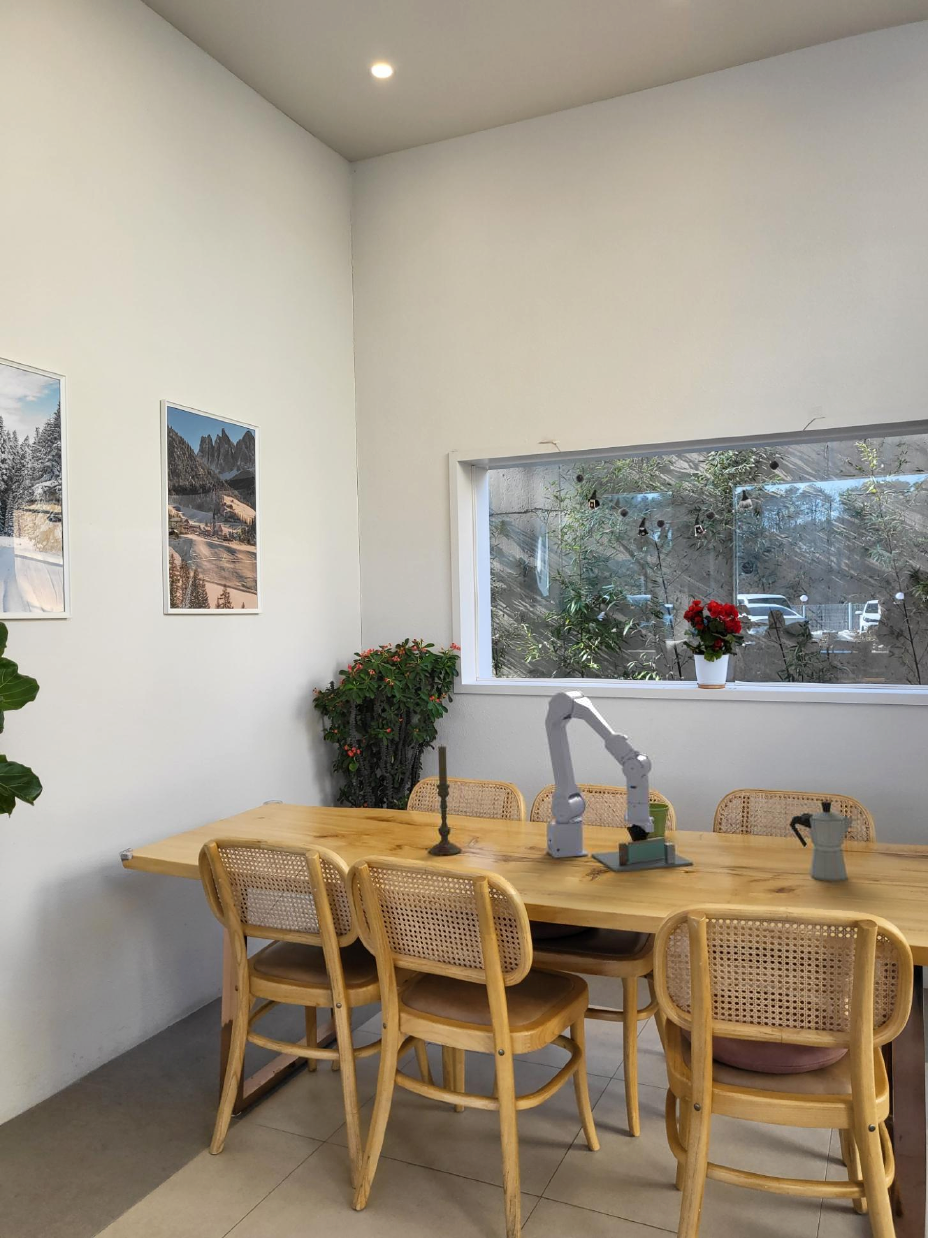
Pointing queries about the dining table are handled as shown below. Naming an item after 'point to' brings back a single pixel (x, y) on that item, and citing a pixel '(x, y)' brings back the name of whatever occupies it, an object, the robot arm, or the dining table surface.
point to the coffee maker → (825, 842)
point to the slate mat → (613, 862)
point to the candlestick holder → (443, 811)
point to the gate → (645, 849)
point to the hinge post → (622, 854)
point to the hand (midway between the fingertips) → (639, 854)
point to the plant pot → (658, 818)
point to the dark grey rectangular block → (669, 853)
